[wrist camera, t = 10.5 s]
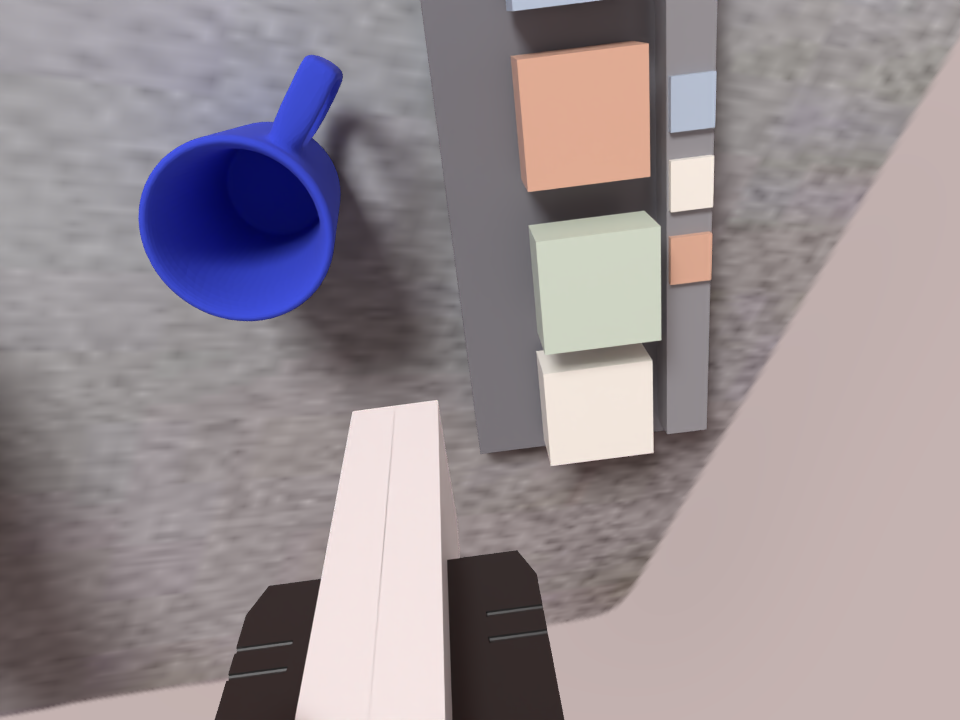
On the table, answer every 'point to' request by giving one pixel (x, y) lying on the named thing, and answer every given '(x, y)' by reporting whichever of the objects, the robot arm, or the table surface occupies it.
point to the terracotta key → (582, 115)
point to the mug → (249, 208)
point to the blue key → (538, 3)
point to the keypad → (572, 193)
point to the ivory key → (596, 403)
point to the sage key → (597, 281)
